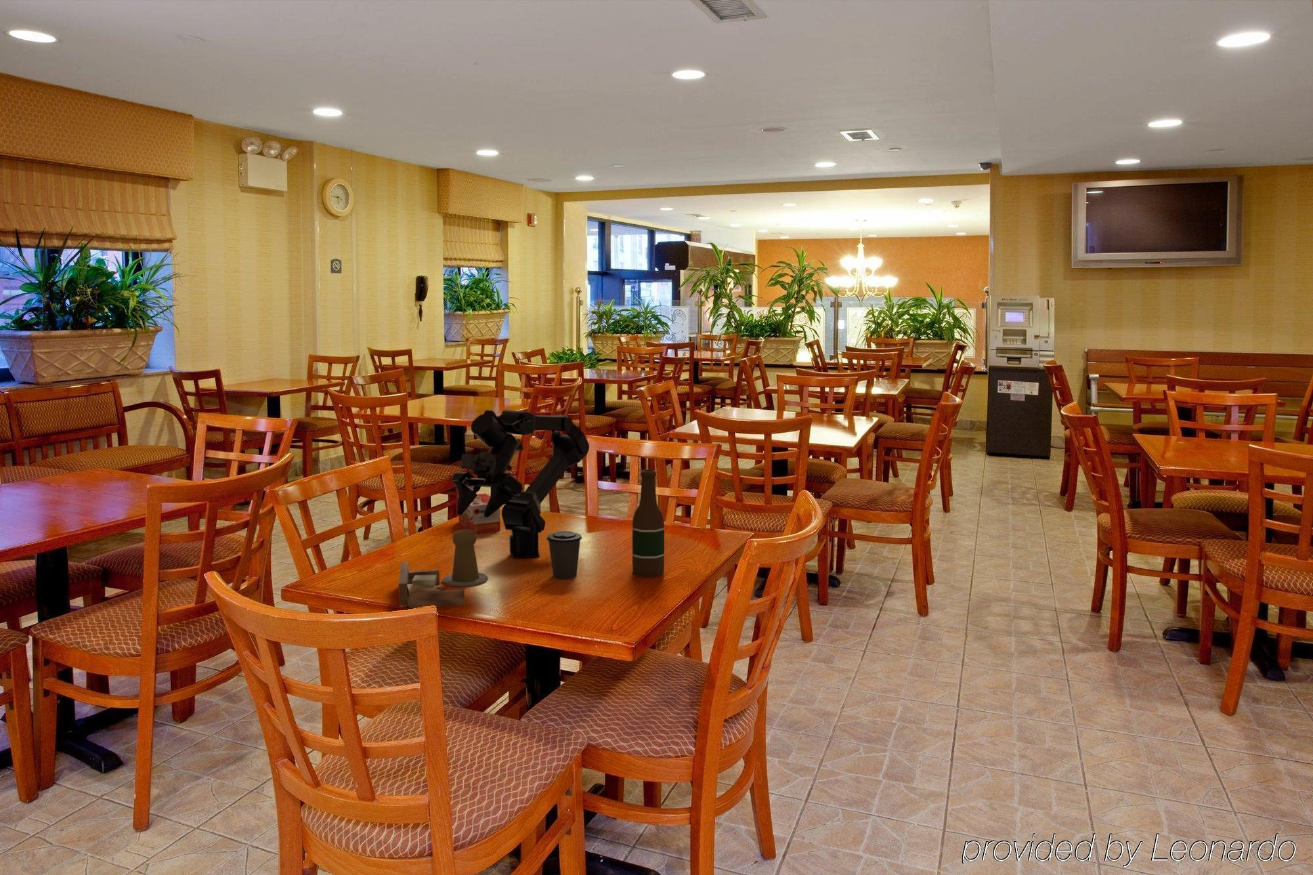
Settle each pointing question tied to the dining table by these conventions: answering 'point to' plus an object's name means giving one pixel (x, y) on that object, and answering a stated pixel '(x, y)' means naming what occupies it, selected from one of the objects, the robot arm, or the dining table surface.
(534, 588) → the dining table surface
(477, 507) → the medicine box
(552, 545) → the coffee cup
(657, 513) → the beer bottle
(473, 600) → the dining table surface
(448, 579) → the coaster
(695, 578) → the dining table surface
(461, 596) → the rack
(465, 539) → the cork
